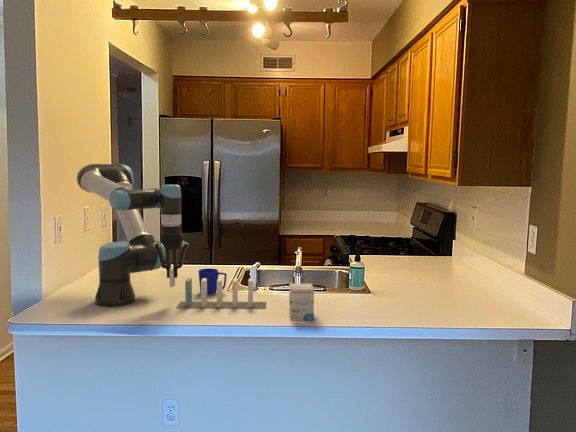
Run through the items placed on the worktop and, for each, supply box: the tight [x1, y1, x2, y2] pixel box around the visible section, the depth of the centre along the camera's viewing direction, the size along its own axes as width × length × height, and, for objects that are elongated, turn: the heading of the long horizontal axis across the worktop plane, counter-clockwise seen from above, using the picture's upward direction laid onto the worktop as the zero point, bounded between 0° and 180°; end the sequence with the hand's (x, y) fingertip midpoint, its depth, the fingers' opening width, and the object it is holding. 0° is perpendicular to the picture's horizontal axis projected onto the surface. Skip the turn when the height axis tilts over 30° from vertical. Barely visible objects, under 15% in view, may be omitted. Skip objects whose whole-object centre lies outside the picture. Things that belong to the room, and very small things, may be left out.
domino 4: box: [247, 278, 254, 307], centre depth 200 cm, size 2×5×10 cm, turn 1°
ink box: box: [288, 283, 315, 322], centre depth 187 cm, size 9×8×12 cm
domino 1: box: [200, 278, 208, 307], centre depth 200 cm, size 2×5×10 cm, turn 1°
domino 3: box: [232, 278, 239, 307], centre depth 200 cm, size 2×5×10 cm, turn 1°
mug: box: [198, 267, 228, 295], centre depth 219 cm, size 8×12×10 cm
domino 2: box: [216, 277, 223, 307], centre depth 200 cm, size 2×5×10 cm, turn 1°
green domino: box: [184, 277, 193, 307], centre depth 200 cm, size 2×5×10 cm, turn 1°
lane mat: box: [175, 300, 267, 310], centre depth 200 cm, size 34×10×1 cm, turn 91°
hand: (172, 285), depth 199 cm, fingers closed
